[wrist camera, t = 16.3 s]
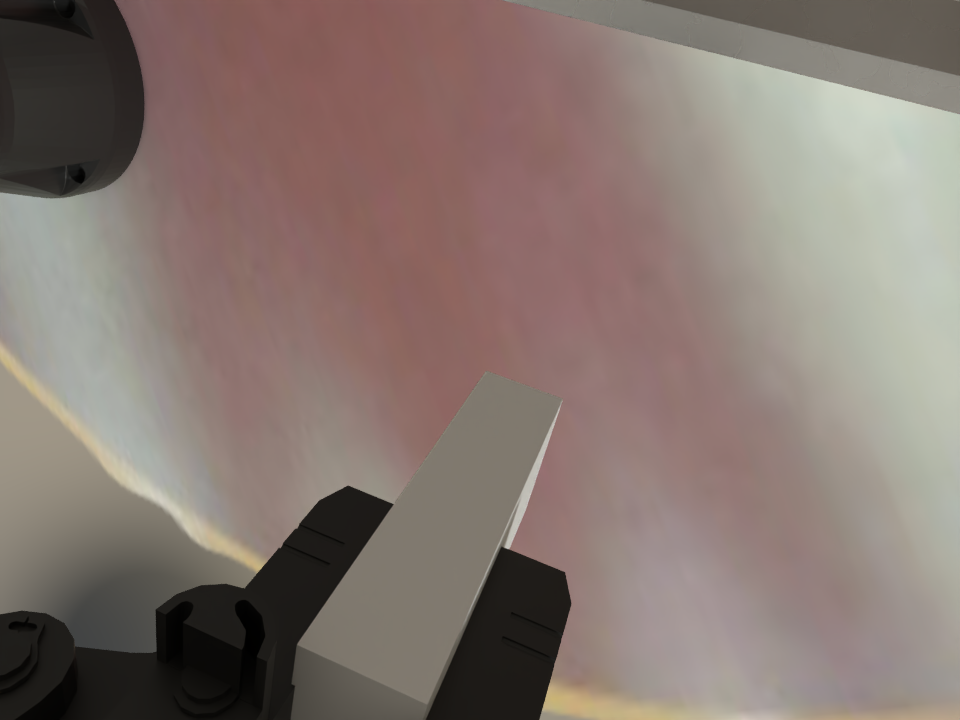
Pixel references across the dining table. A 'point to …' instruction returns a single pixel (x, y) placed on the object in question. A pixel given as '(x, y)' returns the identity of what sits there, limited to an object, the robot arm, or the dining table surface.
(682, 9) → the tray
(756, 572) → the dining table surface
